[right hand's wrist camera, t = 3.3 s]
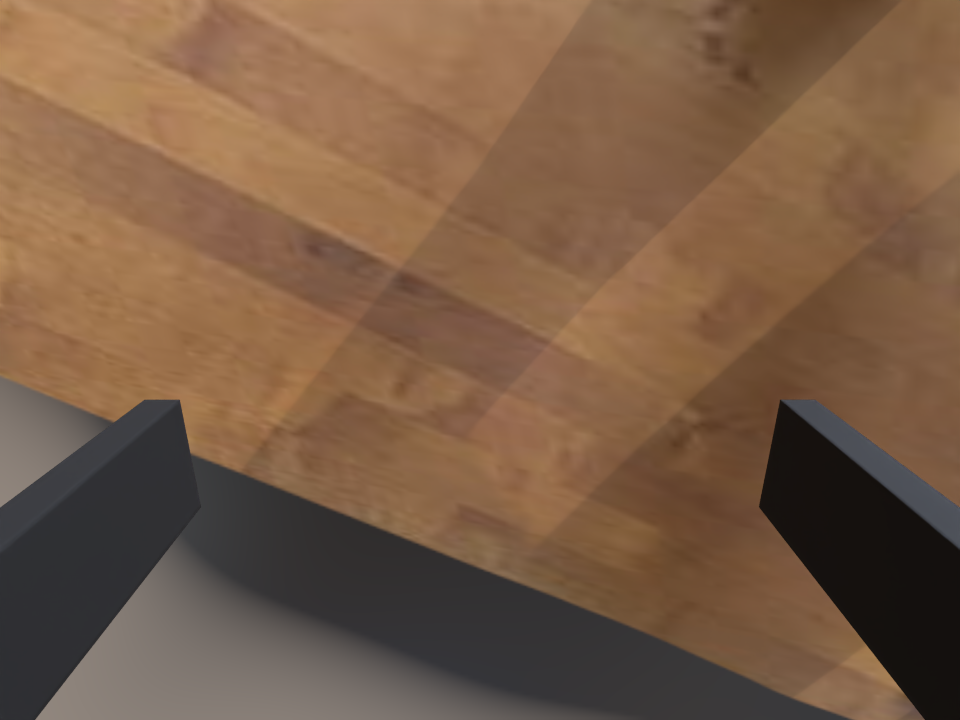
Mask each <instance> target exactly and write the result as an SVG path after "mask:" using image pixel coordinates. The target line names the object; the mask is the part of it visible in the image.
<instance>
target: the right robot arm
mask: <svg viewBox="0 0 960 720" xmlns="http://www.w3.org/2000/svg"><path fill="white" fill-rule="evenodd" d="M200 508H201V504H200V499H199V495H198V490H197V484H196V479H195V474H194V469H193V464H192V459H191V454H190V449H189V444H188V439H187V434H186V429H185V424H184V419H183V414H182V409H181V404H180V400H144V401H142V402H141V403H140V404H138V405H137V406H136V407H134V408H133V409H132V410H130V411H129V412H128V413H126V414H125V415H124V416H122V417H121V418H120V419H118V420H117V421H116V422H114V423H113V424H112V425H110V426H109V427H108V428H106V429H105V430H104V431H102V432H101V433H100V434H98V435H97V436H96V437H94V438H93V439H92V440H90V441H89V442H88V443H86V444H85V445H84V446H82V447H81V448H79V449H78V450H77V451H75V452H74V453H73V454H71V455H70V456H69V457H67V458H66V459H65V460H63V461H62V462H61V463H59V464H58V465H57V466H55V467H54V468H53V469H51V470H50V471H49V472H47V473H46V474H45V475H43V476H42V477H41V478H39V479H38V480H37V481H35V482H34V483H33V484H31V485H30V486H29V487H27V488H26V489H25V490H23V491H22V492H21V493H19V494H18V495H17V496H15V497H14V498H13V499H11V500H10V501H9V502H7V503H6V504H5V505H3V506H2V507H0V720H35V719H36V718H37V717H38V715H39V714H40V713H41V711H42V710H43V709H44V708H45V706H46V705H47V704H48V702H49V701H50V700H51V699H52V697H53V696H54V695H55V693H56V692H57V691H58V690H59V688H60V687H61V686H62V685H63V683H64V682H65V681H66V679H67V678H68V677H69V675H70V674H71V673H72V672H73V670H74V669H75V668H76V667H77V665H78V664H79V663H80V661H81V660H82V659H83V658H84V656H85V655H86V654H87V652H88V651H89V650H90V649H91V647H92V646H93V645H94V644H95V642H96V641H97V640H98V638H99V637H100V636H101V634H102V633H103V632H104V631H105V629H106V628H107V627H108V626H109V624H110V623H111V622H112V620H113V619H114V618H115V617H116V615H117V614H118V613H119V611H120V610H121V609H122V608H123V606H124V605H125V604H126V602H127V601H128V600H129V599H130V597H131V596H132V595H133V593H134V592H135V591H136V590H137V588H138V587H139V586H140V585H141V583H142V582H143V581H144V579H145V578H146V577H147V575H148V574H149V573H150V572H151V570H152V569H153V568H154V567H155V565H156V564H157V563H158V561H159V560H160V559H161V558H162V556H163V555H164V554H165V552H166V551H167V550H168V549H169V547H170V546H171V545H172V543H173V542H174V541H175V540H176V538H177V537H178V536H179V535H180V533H181V532H182V531H183V529H184V528H185V527H186V526H187V524H188V523H189V522H190V520H191V519H192V518H193V517H194V515H195V514H196V513H197V511H198V510H199V509H200ZM759 508H760V509H761V510H762V511H763V513H764V514H765V515H766V517H767V518H768V519H769V520H770V522H771V523H772V524H773V526H774V527H775V528H776V529H777V531H778V532H779V533H780V535H781V536H782V537H783V538H784V540H785V541H786V542H787V544H788V545H789V546H790V547H791V549H792V550H793V551H794V552H795V554H796V555H797V556H798V558H799V559H800V560H801V561H802V563H803V564H804V565H805V567H806V568H807V569H808V570H809V572H810V573H811V574H812V576H813V577H814V578H815V579H816V581H817V582H818V583H819V585H820V586H821V587H822V588H823V590H824V591H825V592H826V594H827V595H828V596H829V597H830V599H831V600H832V601H833V602H834V604H835V605H836V606H837V608H838V609H839V610H840V611H841V613H842V614H843V615H844V617H845V618H846V619H847V620H848V622H849V623H850V624H851V626H852V627H853V628H854V629H855V631H856V632H857V633H858V635H859V636H860V637H861V638H862V640H863V641H864V642H865V644H866V645H867V646H868V647H869V649H870V650H871V651H872V652H873V654H874V655H875V656H876V658H877V659H878V660H879V661H880V663H881V664H882V665H883V667H884V668H885V669H886V670H887V672H888V673H889V674H890V676H891V677H892V678H893V679H894V681H895V682H896V683H897V685H898V686H899V687H900V688H901V690H902V691H903V692H904V693H905V695H906V696H907V697H908V699H909V700H910V701H911V702H912V704H913V705H914V706H915V708H916V709H917V710H918V711H919V713H920V714H921V715H922V717H923V718H924V719H925V720H960V507H958V506H957V505H955V504H954V503H953V502H951V501H950V500H949V499H947V498H946V497H945V496H943V495H942V494H941V493H939V492H938V491H937V490H935V489H934V488H933V487H931V486H930V485H929V484H927V483H926V482H925V481H923V480H922V479H921V478H919V477H918V476H917V475H915V474H914V473H913V472H911V471H910V470H909V469H907V468H906V467H905V466H903V465H902V464H901V463H899V462H898V461H897V460H895V459H894V458H893V457H891V456H890V455H889V454H887V453H886V452H885V451H883V450H882V449H881V448H879V447H878V446H877V445H875V444H874V443H872V442H871V441H870V440H868V439H867V438H866V437H864V436H863V435H862V434H860V433H859V432H858V431H856V430H855V429H854V428H852V427H851V426H850V425H848V424H847V423H846V422H844V421H843V420H842V419H840V418H839V417H838V416H836V415H835V414H834V413H832V412H831V411H830V410H828V409H827V408H826V407H824V406H823V405H822V404H820V403H819V402H818V401H816V400H780V404H779V409H778V414H777V419H776V424H775V429H774V434H773V439H772V444H771V449H770V454H769V459H768V464H767V469H766V474H765V479H764V484H763V489H762V494H761V499H760V504H759Z"/></svg>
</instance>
